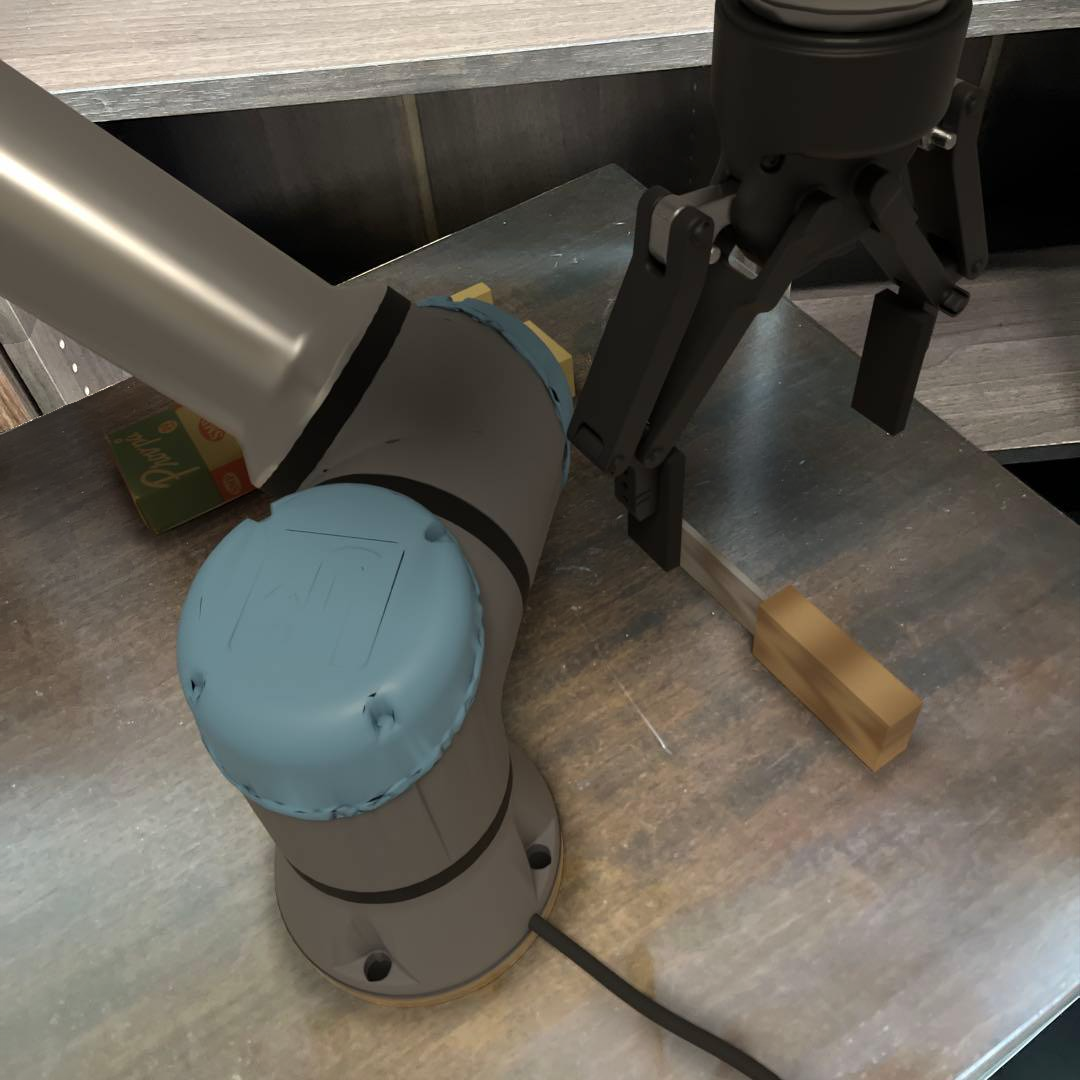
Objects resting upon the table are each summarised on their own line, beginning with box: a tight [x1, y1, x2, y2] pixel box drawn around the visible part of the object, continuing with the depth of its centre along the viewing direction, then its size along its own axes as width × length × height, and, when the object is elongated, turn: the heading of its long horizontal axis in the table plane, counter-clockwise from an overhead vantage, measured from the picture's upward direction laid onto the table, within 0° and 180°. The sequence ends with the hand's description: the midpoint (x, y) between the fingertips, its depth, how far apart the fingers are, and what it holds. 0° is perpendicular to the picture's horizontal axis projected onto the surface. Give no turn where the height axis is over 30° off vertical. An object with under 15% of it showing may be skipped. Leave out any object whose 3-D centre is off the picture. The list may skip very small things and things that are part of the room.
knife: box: [679, 518, 924, 773], centre depth 59 cm, size 20×2×5 cm, turn 34°
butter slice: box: [449, 281, 494, 305], centre depth 83 cm, size 2×6×4 cm, turn 123°
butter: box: [523, 319, 576, 399], centre depth 77 cm, size 6×6×4 cm
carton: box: [104, 404, 257, 536], centre depth 75 cm, size 8×16×4 cm, turn 121°
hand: (770, 481), depth 45 cm, fingers open, 13 cm apart
